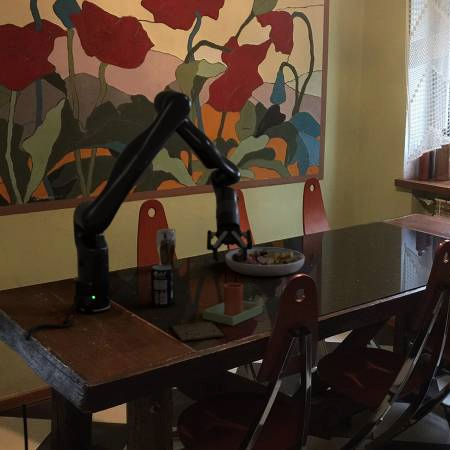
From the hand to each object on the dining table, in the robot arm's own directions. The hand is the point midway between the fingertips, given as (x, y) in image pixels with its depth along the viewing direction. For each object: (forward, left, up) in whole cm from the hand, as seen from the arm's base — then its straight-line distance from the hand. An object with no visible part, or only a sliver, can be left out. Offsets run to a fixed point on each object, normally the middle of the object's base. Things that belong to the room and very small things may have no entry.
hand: (230, 259), depth 224 cm
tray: (-7, -6, -15) cm, 18 cm away
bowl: (+45, +18, -15) cm, 51 cm away
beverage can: (-11, +19, -15) cm, 26 cm away
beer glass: (+21, +46, -15) cm, 53 cm away
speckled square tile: (-25, -7, -15) cm, 30 cm away
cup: (-7, -6, -15) cm, 17 cm away
